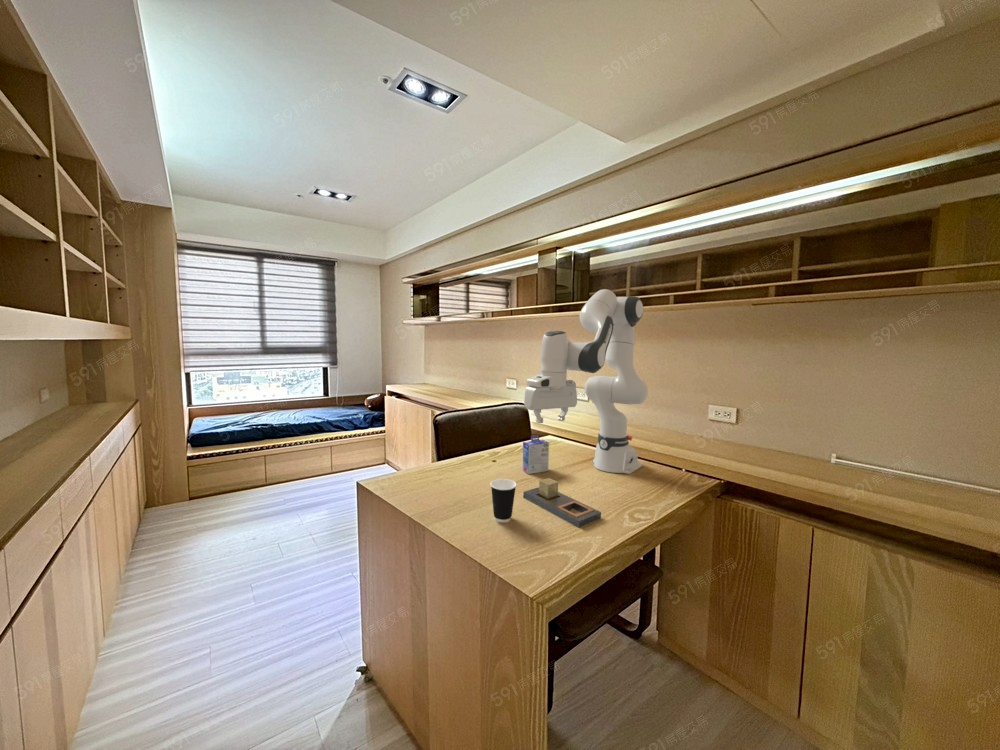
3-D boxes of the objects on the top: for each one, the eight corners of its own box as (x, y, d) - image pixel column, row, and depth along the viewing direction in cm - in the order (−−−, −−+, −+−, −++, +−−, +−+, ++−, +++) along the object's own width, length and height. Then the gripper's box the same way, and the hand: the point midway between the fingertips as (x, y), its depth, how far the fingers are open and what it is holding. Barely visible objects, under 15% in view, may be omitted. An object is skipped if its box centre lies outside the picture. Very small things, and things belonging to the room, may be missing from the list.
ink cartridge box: (542, 467, 161) (543, 433, 159) (549, 471, 156) (550, 437, 154) (521, 470, 157) (522, 435, 155) (528, 474, 152) (529, 439, 150)
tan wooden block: (548, 497, 131) (548, 477, 130) (557, 502, 127) (558, 482, 126) (538, 500, 128) (539, 480, 127) (547, 505, 124) (548, 485, 124)
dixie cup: (484, 518, 115) (484, 483, 114) (503, 510, 120) (503, 476, 119) (502, 528, 109) (503, 491, 108) (521, 519, 115) (522, 484, 114)
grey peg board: (544, 490, 136) (544, 484, 136) (600, 518, 116) (601, 511, 116) (523, 497, 130) (523, 491, 130) (578, 527, 110) (579, 520, 110)
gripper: (569, 378, 133) (567, 417, 134) (522, 379, 122) (520, 422, 123) (582, 380, 128) (580, 421, 129) (534, 382, 117) (532, 426, 118)
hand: (550, 421), depth 126 cm, fingers open, 8 cm apart
